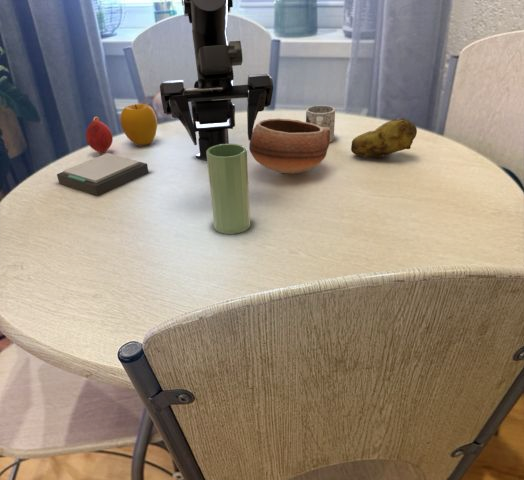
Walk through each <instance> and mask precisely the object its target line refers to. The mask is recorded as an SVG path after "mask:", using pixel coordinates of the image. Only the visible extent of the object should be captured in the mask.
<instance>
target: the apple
mask: <svg viewBox="0 0 524 480" xmlns="http://www.w3.org/2000/svg"><path fill="white" fill-rule="evenodd" d="M119 120H120V125H121V129H122V131H123V133H124V134H125V136H126V137H127V139H128V140H129V141H130V142H131V143H133V144H134V145H136V146H140V147H141V146H142V147H143V146H147V145H149V144H152V143H153V142H154V140H155V137H156V134H157V129H158V117H157V115H156V113H155V110H154V109H153V107H152V106H150V105H149V104H146V103H134V104H130V105H127V106H125V107H124V108H123V109H122V111H121V113H120V118H119Z"/></svg>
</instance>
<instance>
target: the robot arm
mask: <svg viewBox="0 0 524 480" xmlns="http://www.w3.org/2000/svg"><path fill="white" fill-rule="evenodd" d="M181 5H182V8H183V16H184V17H187V18H188V23H189V24H191V33H192V43H193V50H194V57H195V64H196V74H197V80H195V82H194V84H193V87H190V88H185V84H184V79H178V80H163V81H161V83H160V85H159V93H160V99H161V104H162V109H163V114H165V115H171V117H172V118H174V119H178V121H180V123H181V124H182V125H183V127H184V128H185V130H186V132H187V134H188V136H189V137H190V140H191V141H192V143H193V145H194V146H197V145H198V148H199V153H197V154H195V157H196V158H197V159H200V160H205V161H207V152H206V151H207V150H208V149H209V148H210V147H212V146H215V145H220V144H230V142H229V141H230V140H229V130H233V129H234V127H236V105H235V104H234V103H233V101H232V100H235V99H236V100H237V99H246V101H247V108H246V122H247V123H246V127H247V129H246V131H247V139H248V142H250V141H251V138H252V132H253V130H254V128H255V122H256V119H257V118H258V114H259V112H263V111H264V110H265V108H268V107H269V106H271V104H272V99H273V93H274V81H273V78H272V76H271V75H270V74H269V73H263V74H261V73H259V74H249V75H247V84H239V85H234V84H233V81H234V77H235V75H234V68H233V67H236V66H242V64H243V59H244V57H243V49H242V43H241V40H232V41H231V40H230V41H229V42H228V40H227V34H226V33H227V32H226V30H227V25H228V14H229V13H230V11H231V8H234V2H233V0H181ZM189 103H190V104H189ZM190 105H191V106H190ZM190 107H191V109H190ZM197 132H198V140H197Z"/></svg>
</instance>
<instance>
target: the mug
mask: <svg viewBox="0 0 524 480" xmlns="http://www.w3.org/2000/svg"><path fill="white" fill-rule="evenodd" d="M335 121H336V107H334V106H331V105H325V104H324V105H323V104H317V105H316V104H315V105H311V106H308V107H307V108H306V109H305V122H308V123H312V124H316V125H318V126H321V127H328V128H329V129H330V143H332V142H333V141H334V140H335V123H336V122H335Z"/></svg>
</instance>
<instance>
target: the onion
mask: <svg viewBox="0 0 524 480" xmlns="http://www.w3.org/2000/svg"><path fill="white" fill-rule="evenodd" d="M113 139H114V137H113V133H112V130H111V128H110V127H109V126H108V125H106V124H105V123H104V122H102V121H100V117H98V116H94V117H93V119H92V122H91V123H89V124H88V127H87V128H86V132H85V140H86V142H87V144H88V146H89V147H90V148H91V149H92V150H94V151H95V152H98V153H99V154H101V155H104V154H106V153H107V151H108V149H110V148H111V146H112V145H113Z"/></svg>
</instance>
